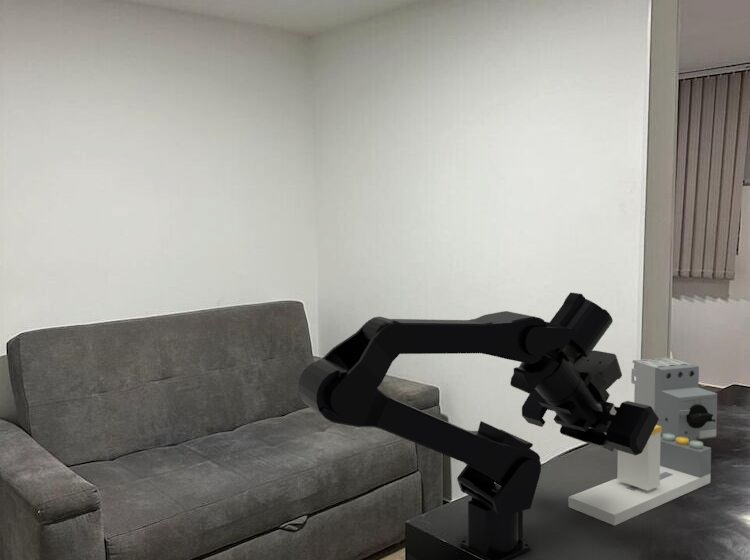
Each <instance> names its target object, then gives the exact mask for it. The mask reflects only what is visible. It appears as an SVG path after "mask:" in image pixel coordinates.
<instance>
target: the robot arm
mask: <svg viewBox="0 0 750 560" xmlns="http://www.w3.org/2000/svg"><path fill="white" fill-rule="evenodd" d="M613 320H614V319H613V318H612V316H611V314H610V313H609V311H608V310H607V309H605V308H602V307H601V306H599V304H597V303H595V302H593V301H591V300H589V299H587V298H586V297H585V296H584V295H583V293H579V292H578V293H577V292H569V294H568V295H567V296H566V298H565V299H564V302H563V303H562V305H561V307H560V308H559V309H558V310H557V311H556V312H555V314H554V316H553V317H552V319H551V320H550V321H545V320H544V319H543V318H541V317H539V316H538V317H537V316H532V315H528V314H522V313H519V312H512V311H507V310H506V311H503V310H502V311H499V312H492V313H488V314H483V315H481V316H479V317H476V318H473V319H425V318H424V319H419V318H418V319H415V318H414V319H413V318H411V319H410V318H409V319H408V318H387V317H384V316H375V317H372V318H370V319H368V321H366V322H365V323H364V324H363V325H362V326H361V327H360V328H359V329H358V330H357V331H356V332H355V333H353V334H352V335H350V336H349V337H347V338H346V339H345V340H343V341H341V342H340V343H338V344H336V346H334V347H332V348H331V349H330V350H329V351H328V352H327V353H326V354H325V355H324V356H323V357H322V358H321V359H319V358H318V360H316V361H313V362H311V363H310V364H309V365H307V366H306V367H305V368H304V370H303V371H302V373H301V374H300V377H299V380H298V383H297V384H298V394H299V397H300V400H301V401H302V403H304V404H305V405H307V406H308V407H309V408H310V409H312V410H313V411H314V412H316V413H317V414H318V415H320V416H322V417H323V418H324V419H326V420H327V421H329V422H331V423H335V424H338V425H344V426H349V427H353V428H354V427H356V428H368V429H369V428H370V429H371V428H373V429H380V430H382V431H385V432H387V433H390V434H392V435H395V436H397V437H400V438H403V439H405V440H408V441H410V442H412V443H415V444H417V445H420V446H422V447H425V448H427V449H429V450H432V451H434V452H438V453H439V454H441V455H444V456H446V457H449V458H452V459H454V460H456V461H460V462H461V463H464V465H466V466H465V467H464V468H463V470H461V472H460V473H459V475H457V478H456V481H457V483H458V486H459V488H460V491H461V492H462V493H463V494H466V495H468V496H469V497H471V500H468V502H467V520H468V521H467V524H468V525H467V529H468V530H467V531H468V532H467V533H468V534H467V536H468V537H466V538H464V539H461V540H460V541H459V546H461V547H462V548H464V549H465V550H468V551H469V552H471V553H473V554H475V555H477V556H479V558H482V559H484V560H509V559H512V558H514V557H516V556H519V555H521V554H523V553H525V552H528V551H530V550H531V548H532V545H531V544H530V543H529V542H526V541H524V540H523V538H524V537H523V536H524V533H523V532H524V531H523V530H524V528H523V527H524V525H523V524H524V522H523V520H524V518H523V517H524V513H523V512H524V511H528V510H530V509H531V508H532V504H533V501H534V497H535V494H536V490H537V487H538V484H539V480H540V477H541V476H540V475H541V472H542V463H541V456H540V454H539V453H538V452H536V451H534V450H533V449H531V448H532V447H533V445H534V444H533V442H531V441H530V442H529V441H528V440H525V439H523V438H521V437H518V436H517V435H514V434H511V432H510V433H509V432H507V431H505V430H504V429H501V428H500V429H499V428H497V427H495V426H493V425H491V424H489V423H487V422H484V421H482V420H481V421H480V423H479V425H478V429H477V430H469V429H465V428H463V427H460V426H458V425H455V424H454V423H451V422H449V421H446V420H444V419H442V418H439V417H438V416H434V415H432V414H430V413H428V412H426V411H423V410H421V409H418V408H416V407H413V406H411V405H410V404H407V403H404V402H402V401H400V400H398V399H395V398H393V397H391V396H388V395H387V394H386V393H385V392H383V390H381V389H380V388H379V386H381V385H382V383H383V381H384V378H385V377H386V375H387V373H388V371H389V369H390V367H391V365H392V363H393V362H394V361H395V360H396V358H398V356H399V355H407V354H408V355H426V354H428V355H429V354H430V355H434V354H437V355H438V354H441V355H442V354H443V355H444V354H445V355H446V354H450V355H451V354H457V355H458V354H483V355H488V356H492V357H496V358H500V359H501V358H502V359H504V360H505V359H506V360H509V361H510V360H511V361H515V362H520V364H519V366H518V367H514V368H513V374H512V376H511V379H510V382H509V383H510V384H509V385H510V386H511V387H513V388H515V389H518V390H520V391H522V392H524V393H527V394H528V396H527V398H526V399H525V401H524V402H523V405H522V406H521V417H522V418H523V419H524V420H525V421H526V422H527V423H528V424H531V425H535V426H538V427H541V428H543V427H544V425H545V424H546V420H545V419H544V416H545V415H546V412H547V411H552V412H554V413H555V416H554V418H553V421H554V423H555V424H557V425H560V426H561V427H560V429H559V433H560V434H561V435H564V436H566V437H570V438H572V439H575V440H578V441H579V442H583V443H586V444H589V445H591V446H595V447H597V448H600V449H602V450H606V451H608V452H611V453H613V452H614V450H615V449H616V450H617V451H618V450H619V451H623V452H626V453H629V454H633V455H638V454H640V453H642V451H643V449H644V448H645V446H646V444H647V442H648V440H649V438H650V436H651V434H652V432H653V430H654V428H655V426H656V424H657V422H658V420H659V418H658V416H657V414H656V413H655V411H654V410H653V408H652V407H651V406H647V405H643V404H639V403H635V402H634V401H630V400H626V401H623V402H621V403H620V405H619V406H616V405H615V404H614V403H613V402H609V401H608V399H609V398H610V393H609V392H608V391H607V390H608V389H609V388H610V387H611V386H612V385H613V384H615V382H617V381H618V380H620V379H621V378H622V376H623V374H622V370H621V366H620V364H619V361H618V360H619V359H618V357H617V355H616V354H615V353H611V352H606V351H600V350H594V349H595V347H596V346H597V344H598V343H599V341H600V340H601V339H602V337H603V336H604V335H605V334H606V332H607V331H608V329H609V328H610V327H611V326H612V324H613V322H614V321H613Z"/></svg>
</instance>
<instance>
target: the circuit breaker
mask: <svg viewBox="0 0 750 560" xmlns="http://www.w3.org/2000/svg"><path fill="white" fill-rule="evenodd" d="M632 364H633V368H631V375H630V377H631V384H632V385H634V394H633V395H634V396H633V397H634V398H633V399H634V400H633V402H635V403H639V404H643V405H647V406H651V407H652V408H653V410H654V411H655V413H656V414H657V416H658V418H659V420H658V422H657V424H656V425H658V426H662V432H661V437H663V434H664V433H670V434H674V435H675V438H676V437H686V438H688V439H689V442H690V441H692V440H696V441H698V440H704V439H712V438H713V439H714V438H717V425H718V424H717V423H718V421H717V419H718V393H717V392H713V391H710V390H707V389H706V388H705V389H704V388H702V387H699V383H700V382H699V380H700V379H699V378H700V376H699V375H700V372H699V370H700V369H699V365H697V364H693V363H690V362H685V361H682V360H678V359H675V358H670V357H658V358H657V357H656V358H652V359H650V358H647V359H646V358H645V359H632Z"/></svg>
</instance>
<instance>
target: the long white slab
mask: <svg viewBox="0 0 750 560" xmlns="http://www.w3.org/2000/svg"><path fill="white" fill-rule="evenodd" d="M711 466H712V447H711V446H705V445H704V442H703V441H700V440H697V441H696V440H692V441H690V442H689V439H688V438H686V437H676V438H675V435H674V434H670V433H664V434H663V437H661V439H660V486H658V487H655V488H653V489H650V490H648V491H647V490H644V489H641V488H638V487H635V486H632V485H630V484H627V483H624V482H621V481H618V480H617V477H616V478H614V479H611V480H609V481H606V482H603V483H601V484H599V485H596V486H593V487H590V488H587V489H585V490H582V491H580V492H578V493H575V494H572V495H570V496H568V502H567V503H568V508H570V509H573V510H575V511H578V512H580V513H582V514H585V515H587V516H590V517H592V518H595V519H597V520H599V521H603V522H605V523H607V524H609V525H612V526H617V525H619V524H622V523H623V522H626V521H628V520H630V519H633V518H635V517H637V516H639V515H641V514H644V513H646V512H648V511H650V510H653V509H656V508H657V507H659V506H662V505H663V504H666V503H668V502H671V501H673V500H675V499H677V498H680V497H681V496H684V495H686V494H688V493H690V492H693V491H696V490H698V489H699V488H702V487H704V486H706V485H709V484H711V478H712V477H711V473H712V472H711V471H712V470H711V469H712V467H711Z"/></svg>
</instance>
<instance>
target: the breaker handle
mask: <svg viewBox="0 0 750 560" xmlns="http://www.w3.org/2000/svg"><path fill="white" fill-rule="evenodd" d="M661 432H662V426H658V425H656V426H655V428H654V430H653V432H652V434H651V436H650V438H649V440H648V442H647V444H646V446H645V448H644V449H643V451H642V453H640V454H638V455H633V454H629V453H626V452H623V451H619V450H617V464H616V466H617V469H616V471H617V475H616V476H617V477H616V478H617V480H618V481H621V482H624V483H627V484H630V485H632V486H635V487H638V488H641V489H644V490H647V491H648V490H650V489H653V488H655V487H658V486H660V439H661Z"/></svg>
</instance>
